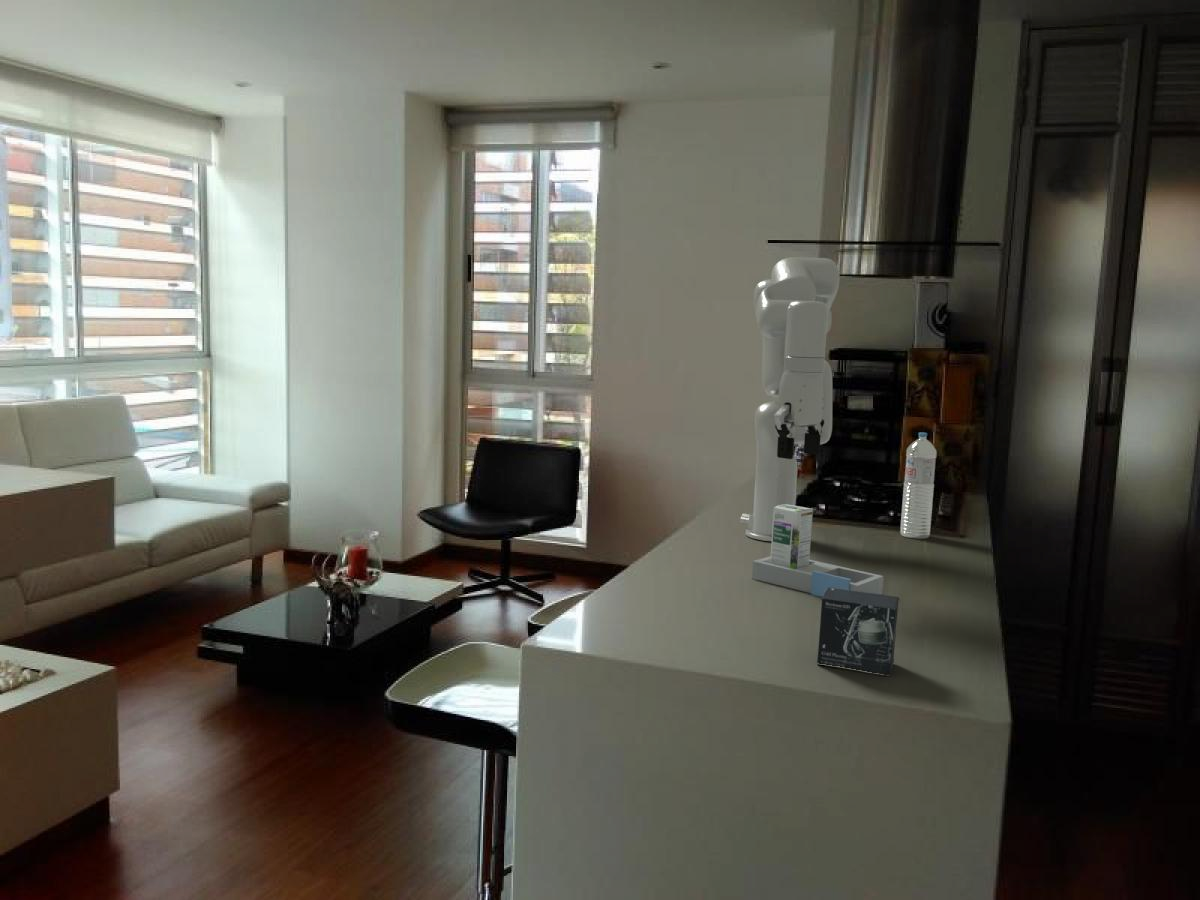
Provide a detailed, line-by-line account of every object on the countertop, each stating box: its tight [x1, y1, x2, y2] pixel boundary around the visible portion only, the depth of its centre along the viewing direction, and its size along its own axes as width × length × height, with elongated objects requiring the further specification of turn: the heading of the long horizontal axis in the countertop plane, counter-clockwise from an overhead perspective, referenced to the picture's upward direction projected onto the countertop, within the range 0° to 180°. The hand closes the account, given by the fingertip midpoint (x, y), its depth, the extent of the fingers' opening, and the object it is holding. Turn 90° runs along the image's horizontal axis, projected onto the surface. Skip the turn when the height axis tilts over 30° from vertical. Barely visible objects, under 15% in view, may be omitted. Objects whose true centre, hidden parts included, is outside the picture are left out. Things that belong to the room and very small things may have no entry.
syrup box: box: [770, 504, 814, 569], centre depth 186 cm, size 6×6×14 cm
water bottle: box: [899, 432, 938, 540], centre depth 228 cm, size 7×7×25 cm
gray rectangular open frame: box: [751, 555, 884, 598], centre depth 183 cm, size 22×10×4 cm, turn 47°
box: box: [816, 588, 900, 676], centre depth 141 cm, size 11×7×10 cm, turn 69°
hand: (798, 456), depth 184 cm, fingers open, 9 cm apart
